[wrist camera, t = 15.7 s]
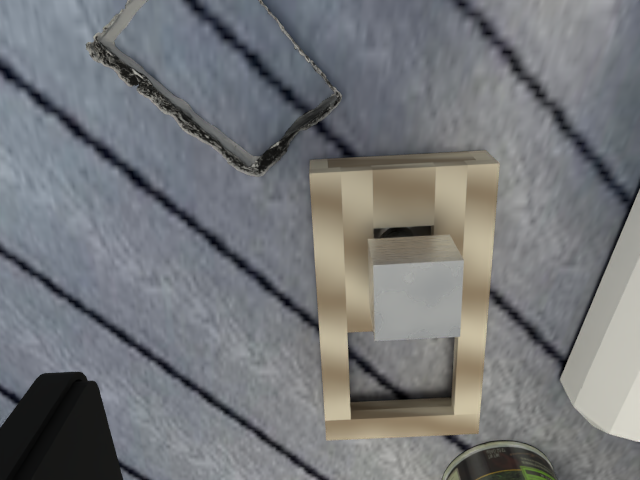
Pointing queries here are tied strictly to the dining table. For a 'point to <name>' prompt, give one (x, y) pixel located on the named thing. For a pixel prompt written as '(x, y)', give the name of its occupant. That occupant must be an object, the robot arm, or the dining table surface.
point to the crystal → (611, 343)
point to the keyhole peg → (414, 284)
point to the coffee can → (501, 463)
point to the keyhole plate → (353, 276)
